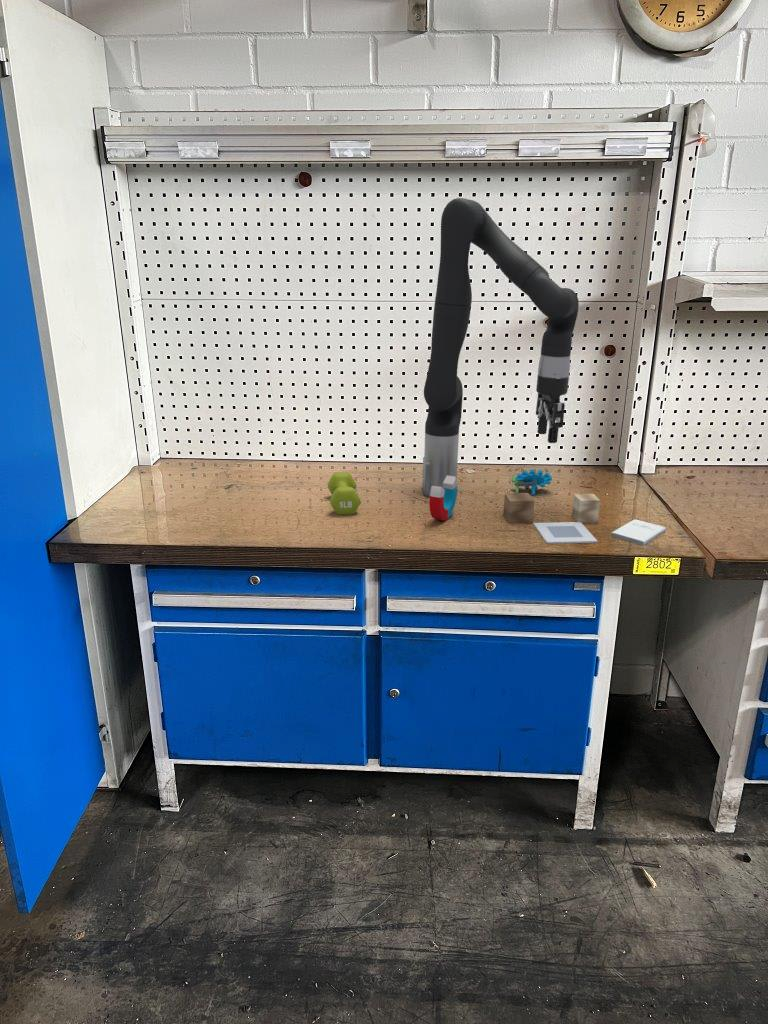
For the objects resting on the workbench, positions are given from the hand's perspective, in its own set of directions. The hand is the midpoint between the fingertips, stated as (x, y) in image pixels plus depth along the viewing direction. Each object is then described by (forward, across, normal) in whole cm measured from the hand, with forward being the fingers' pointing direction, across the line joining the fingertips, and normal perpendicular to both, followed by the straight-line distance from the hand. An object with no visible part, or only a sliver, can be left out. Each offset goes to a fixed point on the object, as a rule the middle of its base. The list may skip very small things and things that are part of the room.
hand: (546, 438), depth 175 cm
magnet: (+20, +4, -27) cm, 33 cm away
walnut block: (+20, +6, -8) cm, 22 cm away
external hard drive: (+20, +18, +19) cm, 33 cm away
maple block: (+19, +8, +9) cm, 23 cm away
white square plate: (+19, +16, +1) cm, 25 cm away
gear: (+20, -14, +2) cm, 25 cm away
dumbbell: (+20, -7, -51) cm, 56 cm away
